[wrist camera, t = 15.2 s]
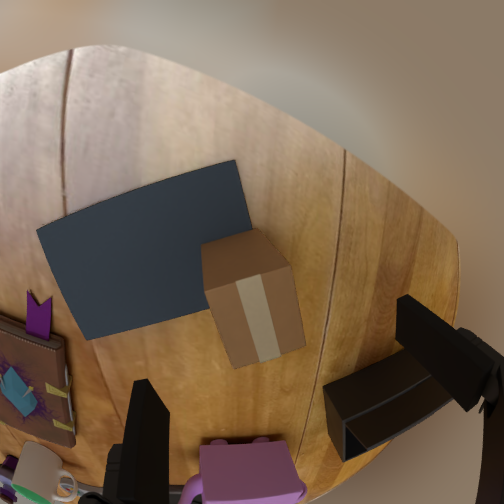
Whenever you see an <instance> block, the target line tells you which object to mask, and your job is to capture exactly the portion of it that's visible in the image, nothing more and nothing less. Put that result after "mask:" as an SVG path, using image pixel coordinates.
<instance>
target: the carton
mask: <svg viewBox="0 0 504 504" xmlns="http://www.w3.org/2000/svg"><path fill="white" fill-rule="evenodd" d="M431 377H433V376H432V375H431V374H430V373H429V372H428V371H427V370H426V369H425V368H424V367H423V366H422V365H421V364H420V363H419V362H418V361H417V360H416V359H415V358H414V357H413V356H412V355H411V354H410V353H409V352H408V351H407V350H406V349H403V350H401V351H399V352H397V353H395V354H393V355H391V356H389V357H387V358H385V359H383V360H381V361H379V362H377V363H375V364H373V365H371V366H369V367H367V368H364V369H362V370H360V371H358V372H356V373H353V374H351V375H349V376H346V377H344V378H342V379H339V380H337V381H334V382H332V383H330V384H327V385H324V386H323V391H324V400H325V408H326V418H327V427H328V434H329V436H330V438H331V440H332V442H333V444H334V446H335V448H336V450H337V452H338V454H339V456H340V458H341V460H342V462H346V461H348V460H350V459H353V458H355V457H357V456H359V455H361V454H363V453H366V452H368V451H370V450H372V449H374V448H376V447H378V446H380V445H382V444H384V443H386V442H387V441H386V442H384V443H382V444H380V445H378V446H376V447H374V448H372V449H370V450H368V451H367V450H366V449H365V447H364V446H363V445H362V444H361V443H360V442H359V441H358V439H357V438H356V437H355V436H354V435H353V434H352V432H351V431H350V430H349V429H348V428H347V427H346V425H345V423H346V422H348V421H351V420H353V419H355V418H357V417H359V416H362V415H364V414H366V413H368V412H370V411H372V410H374V409H376V408H378V407H380V406H382V405H384V404H386V403H388V402H390V401H392V400H393V399H395V398H397V397H399V396H401V395H403V394H404V393H406V392H408V391H410V390H411V389H413V388H415V387H416V386H418V385H420V384H421V383H423V382H425V381H426V380H428V379H429V378H431ZM433 414H434V413H433ZM430 416H431V415H430ZM430 416H429V417H430ZM427 418H428V417H427ZM427 418H426V419H427ZM424 420H425V419H424ZM424 420H422V421H424ZM422 421H421V422H422ZM419 423H420V422H419ZM419 423H418V424H419ZM416 425H417V424H416ZM416 425H414V426H416ZM414 426H413V427H414ZM411 428H412V427H411ZM409 429H410V428H409ZM409 429H408V430H409ZM406 431H407V430H406ZM404 432H405V431H404ZM404 432H402V433H404ZM402 433H401V434H402ZM399 435H400V434H399ZM397 436H398V435H397ZM397 436H395V437H397ZM395 437H393V438H395ZM393 438H392V439H393ZM390 440H391V439H390ZM388 441H389V440H388Z"/></svg>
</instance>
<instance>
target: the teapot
mask: <svg viewBox="0 0 504 504" xmlns="http://www.w3.org/2000/svg"><path fill="white" fill-rule="evenodd" d="M306 493H307V487H306V485H305V483H304V482H303V481H301V480H300V479H299V477H298V474H297V471H296V469H295V466H294V463H293V461H292V458H291V455H290V452H289V450H288V447H287V444H286V441H285V440H283V441H274V442H269V438H267V437H260V438H257V439H255V440H254V441H253V442H252V444H235V445H228V442H227V441H226V440H223V439H217V440H213V441H212V442H211V443H210V445H200V460H199V474H196V475H194V476H193V477H191V478H190V479H189V480H188V481H187V482H186V484H185V486H184V488H183V491H182V495H181V498H180V501H179V503H178V504H191V502H192V500H193V498H194V497H195V496H196V495H198V494H201V495H202V503H203V504H295V503H298V502H300V501H301V500H302V499H303V498H304V497H305V495H306Z"/></svg>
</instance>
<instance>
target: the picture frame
mask: <svg viewBox="0 0 504 504" xmlns="http://www.w3.org/2000/svg"><path fill="white" fill-rule="evenodd" d="M184 486H185V485H169V502H170V504H178V503H179V501H180V498H181V495H182V491H183V488H184ZM191 504H203V503H202V495H201V494H198V495H196V496H195V497H194V498H193V500H192V502H191Z"/></svg>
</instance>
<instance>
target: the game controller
mask: <svg viewBox="0 0 504 504" xmlns="http://www.w3.org/2000/svg"><path fill="white" fill-rule="evenodd" d="M76 482H77V481H76ZM77 485H78V492H77V496H80V497H81V496H82V495H83V494H85V493H87V492H97V493H99V494H101V495H102V492H103V488H98V487H93V486H89V485H85V484H82V483H80V482H77ZM60 486H61V488H63V489H64V490H65V491H67V492H69V493H72V491H73V488H74V482H73V480H72V479H69V478H61V481H60Z"/></svg>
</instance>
